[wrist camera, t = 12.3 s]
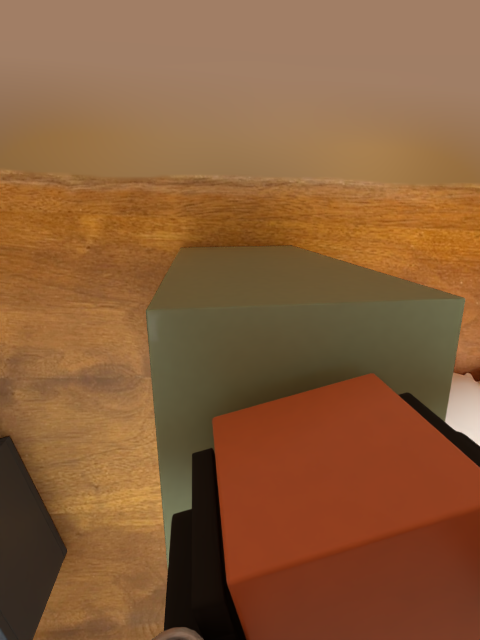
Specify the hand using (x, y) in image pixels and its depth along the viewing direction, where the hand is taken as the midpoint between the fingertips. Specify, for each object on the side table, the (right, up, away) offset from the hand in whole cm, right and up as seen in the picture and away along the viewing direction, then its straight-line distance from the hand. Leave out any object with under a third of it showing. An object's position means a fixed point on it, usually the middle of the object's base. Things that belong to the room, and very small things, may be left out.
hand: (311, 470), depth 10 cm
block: (0, 0, 0) cm, 0 cm away
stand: (-2, +6, +21) cm, 21 cm away
